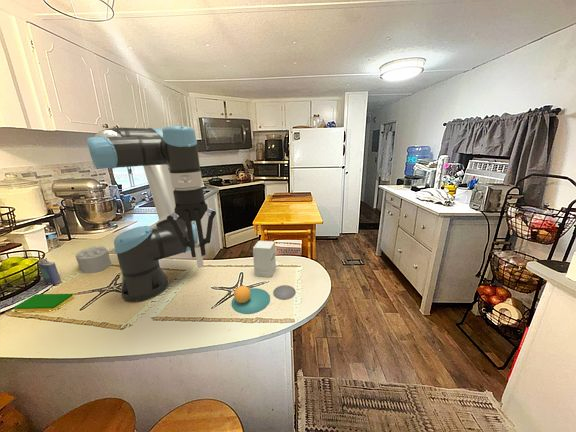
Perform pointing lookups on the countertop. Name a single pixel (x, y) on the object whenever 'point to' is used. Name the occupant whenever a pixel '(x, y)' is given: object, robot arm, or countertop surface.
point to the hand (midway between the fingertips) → (200, 265)
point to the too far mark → (284, 292)
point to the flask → (49, 271)
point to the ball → (242, 294)
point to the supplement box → (264, 258)
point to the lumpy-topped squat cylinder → (93, 259)
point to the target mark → (252, 302)
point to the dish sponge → (44, 302)
